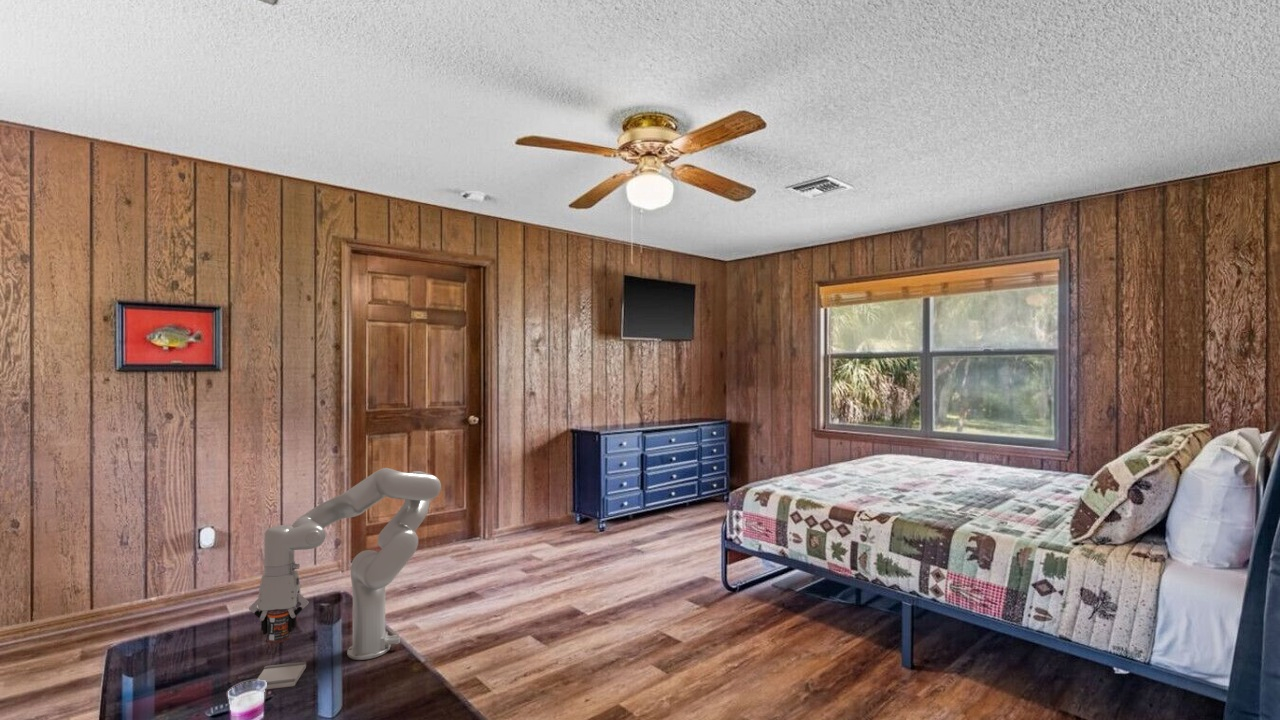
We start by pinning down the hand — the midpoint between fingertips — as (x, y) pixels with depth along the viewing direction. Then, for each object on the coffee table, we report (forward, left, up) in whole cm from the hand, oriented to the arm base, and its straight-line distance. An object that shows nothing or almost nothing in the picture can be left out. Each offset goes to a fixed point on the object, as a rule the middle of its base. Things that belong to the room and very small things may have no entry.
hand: (279, 630), depth 176 cm
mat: (0, 0, -14) cm, 14 cm away
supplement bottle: (0, 0, -3) cm, 3 cm away
